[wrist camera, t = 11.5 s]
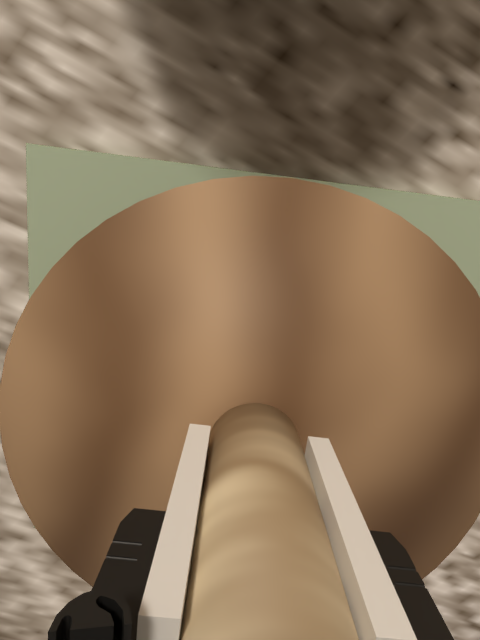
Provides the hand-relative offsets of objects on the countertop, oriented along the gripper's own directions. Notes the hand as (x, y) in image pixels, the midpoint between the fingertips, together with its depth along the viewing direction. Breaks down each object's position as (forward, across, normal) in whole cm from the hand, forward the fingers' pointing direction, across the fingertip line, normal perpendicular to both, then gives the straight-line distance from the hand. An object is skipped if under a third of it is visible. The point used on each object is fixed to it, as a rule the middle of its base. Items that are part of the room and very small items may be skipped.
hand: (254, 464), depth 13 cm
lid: (+2, 0, 0) cm, 2 cm away
